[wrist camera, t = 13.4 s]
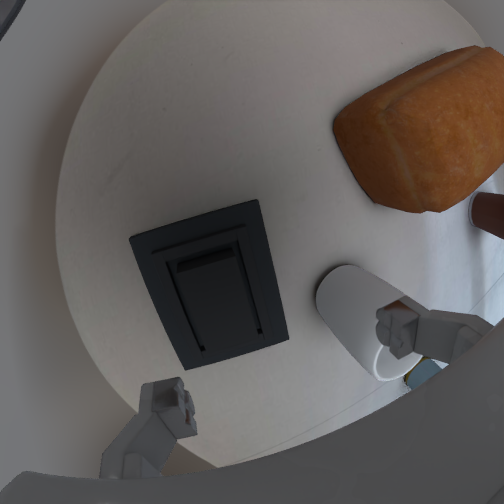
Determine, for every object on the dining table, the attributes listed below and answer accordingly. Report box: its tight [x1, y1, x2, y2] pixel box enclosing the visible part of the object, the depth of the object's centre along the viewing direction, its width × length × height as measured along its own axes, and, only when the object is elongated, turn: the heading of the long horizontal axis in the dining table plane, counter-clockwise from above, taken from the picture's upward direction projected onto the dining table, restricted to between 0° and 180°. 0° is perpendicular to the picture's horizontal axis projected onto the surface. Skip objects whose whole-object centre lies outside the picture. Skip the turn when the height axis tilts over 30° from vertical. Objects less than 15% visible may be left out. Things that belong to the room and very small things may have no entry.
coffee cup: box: [469, 192, 504, 239], centre depth 32 cm, size 9×9×12 cm
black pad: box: [176, 248, 259, 353], centre depth 29 cm, size 10×6×3 cm, turn 14°
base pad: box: [129, 199, 289, 370], centre depth 31 cm, size 18×14×2 cm
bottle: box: [405, 357, 442, 390], centre depth 39 cm, size 7×7×15 cm
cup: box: [316, 265, 423, 381], centre depth 29 cm, size 8×8×14 cm
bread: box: [333, 45, 504, 213], centre depth 23 cm, size 14×33×16 cm, turn 126°
